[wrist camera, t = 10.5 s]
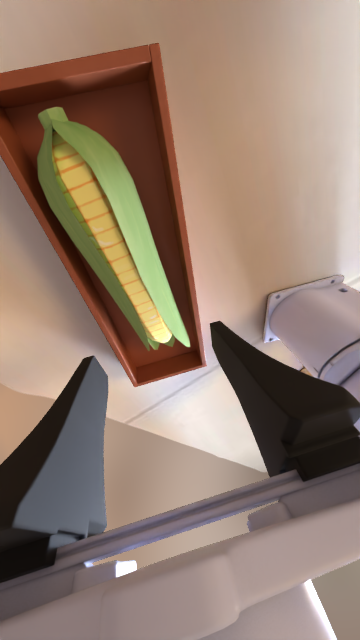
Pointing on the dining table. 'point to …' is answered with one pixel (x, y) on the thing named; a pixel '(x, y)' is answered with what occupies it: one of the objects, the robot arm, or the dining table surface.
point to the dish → (144, 167)
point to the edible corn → (107, 224)
